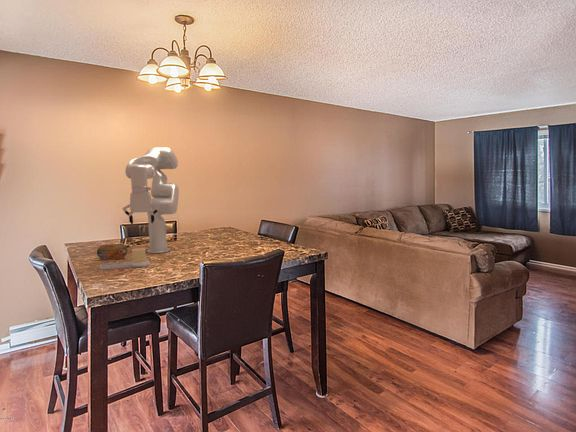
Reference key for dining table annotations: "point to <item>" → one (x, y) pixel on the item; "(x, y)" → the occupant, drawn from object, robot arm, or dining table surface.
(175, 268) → the dining table surface
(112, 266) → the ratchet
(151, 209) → the robot arm
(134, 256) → the tan wooden cube
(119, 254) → the tin
